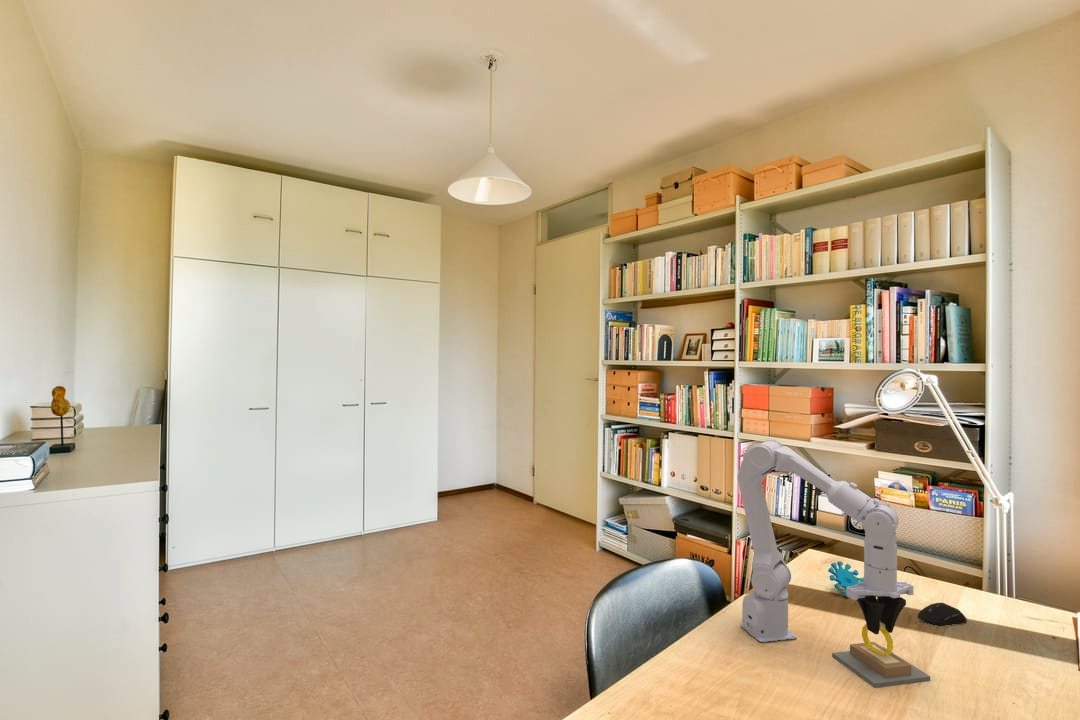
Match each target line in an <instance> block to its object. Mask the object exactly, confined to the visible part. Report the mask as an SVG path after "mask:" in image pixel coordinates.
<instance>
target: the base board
mask: <svg viewBox="0 0 1080 720" xmlns="http://www.w3.org/2000/svg"><path fill="white" fill-rule="evenodd" d="M870 642H871V644H872V646H873V647H875V648H877V649H878V650H880V651H882V652H884V653H885V651H886V649H887V647H886V648H885V646H881V645H880V644H878V643H877V642H875V641H870ZM831 657H832V658H833V659H835V660H836V661H837V662H838V663H840V664H842V665H843V666H844V667H846V668H847V669H848V670H850V671H851V672H852V673H854V674H855V675H856V676H857V677H859V678H861V679H862V680H863V681H865V682H866V683H868V684H869V685H870V686H872V687H873V688H883V687H889V686H890V687H891V686H898V685H899V686H900V685H906V684H914V683H922V682H929V681H931V675H929V674H927V673H925V672H924V671H923V670H921V669H919V668H918V667H916V665H913V664H912V663H910V662H908V661H906V660H905V659H903V658H902V657H900V656H899V655H897V654H895V653H894V652H893V651H892V652H891V653H890V654H887V655H884V656H880V655H879V654H877V653H875V652H874V651H872V650H870V649H868V648H867V646H866V645H865V643H864V642H859V643H850V644H849V650H846V651H838V652H837V651H836V652H831Z"/></svg>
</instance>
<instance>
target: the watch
mask: <svg viewBox="0 0 1080 720" xmlns="http://www.w3.org/2000/svg"><path fill="white" fill-rule="evenodd" d="M868 631H869V630H868V628H867V624H866V623H865V624H864V625H863V626H862V629H861V637H862V641H863V643H865V645H866V646H867V648H868V649H870V650H872V651H874V652H875V653H877V654H879V655H880V656H884V655H887V654H890V653H891V652H892V653H893V650H894V641H893V638H892V635H891V633H889V632H888V631H887V630H886V629H885V624H883V623H882V622H880V630H879V632H881V634H883V636H884V638H885V641H886V651H885V653H884V652H882V651H880V650H878V649H877V648H875V647H873V646H872V644H871V642H872V641H870V638H869V635H868Z"/></svg>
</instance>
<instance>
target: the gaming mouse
mask: <svg viewBox="0 0 1080 720" xmlns="http://www.w3.org/2000/svg"><path fill="white" fill-rule="evenodd" d="M919 618H920V619H921V620H920V619H919ZM917 619H919V620H918V621H919V622H923V623H925V622H926V624H928V623H929V625H931V624H932V626H934V625H937V626H936V627H946V626H945V625H950V626H953V625H952V624H959V625H962V624H961V623H964V622H965V623H967V621H968V620H967V617H966V616H965V615H964V614H963V613H962V611H961V610H959V608H956V607H954V606H952V605H949V604H947V603H945V602H936V603H931V604H929V605H927V606H924V607H923V608H922V609H921V610H920V611H919V612H918V613H917ZM918 621H917V622H918ZM917 622H915V624H918V623H917ZM965 623H964V624H965Z"/></svg>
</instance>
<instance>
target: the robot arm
mask: <svg viewBox="0 0 1080 720" xmlns="http://www.w3.org/2000/svg"><path fill="white" fill-rule="evenodd" d="M772 470H774V471H775V472H789V473H792V474H795V475H796V476H798V477H799V478H801V479H802V480H804V481H805V482H807V483H809V484H811V485H812V486H813V487H816V488H817V489H818V490H820V491H822V492H823V493H825V494H826V496H827V501H828V502H829V503H830V504H832V505H833V506H834V507H835V508H837V509H839V510H840V511H841V512H843V513H844V514H846V515H847V516H849V517H850V518H852V519H853V520H854V521H856V522H858V523H860V524H861V526H862V528H863V530H864V535H865V536H864V537H865V538H864V540H863V577H864V582H861V583H859V584H856V585H854V586H850V587H846V596H845V597H848V599H850V600H852V601H857V603H858V605H859V606H860V609H861V611H862V614H863V617H864V620H865V624H867V628H868V631H869V632H871V633H873V634H874V635H879V633H880V622H882V623H883V624H885V629H886V630H887V631H888V632H889V634H891V633H892V634H893V631H894V628H895V625H896V622H897V620H898V617H899V615H900V613H901V612H902V610H903V609H904V608H905V606H906V605H907V599H905V598H903V597H901V595H907V596H913V595H914V589H915V588H914V585H913V584H910V583H909V582H907V581H898V544H897V539H898V538H897V532H896V530H897V527H898V526H899V519H900V518H899V515H898V513H897V512H896V511H895V509H893V508H892V507H891V506H890V505H889V504H887V503H883V502H880V500H879V499H878V498H871V497H870V496H869V495H867V494H866V493H864V492H863V491H861V490H860V489H858V488H857V487H858V484H856V483H854V482H853V481H852V482H850V483H849V482H847V481H846V480H839V481H838V480H837V481H836V480H834V479H833V478H831V477H830V476H828V475H827V474H826V473H824V471H822V470H821V469H819V468H818V467H816V466H814V464H812V463H810V462H809V461H808V460H806V459H805V458H803V457H802V456H801V455H799V454H798V453H797V452H795V451H794V450H793V449H792V448H790V447H788V446H786V445H783V444H782V443H780V441H777V440H775V439H767V440H765V441H762V442H759V443H758V442H757V443H755V444H754V443H753V444H752V445H751V446H749V448H748V449H747V450H746V451H745V452H744V453H743V454H742V462H741V464H740V468H739V471H738V473H737V483H738V487H739V491H740V496H741V501H742V504H743V509H744V513H745V519H746V523H747V527H748V528H747V529H748V531H749V536H750V537H749V538H750V540H751V541H750V542H751V544H752V549H753V557H752V561H751V567H752V575H751V578H750V581H751V587H752V588H753V592H751V593H749V594H746V595H745V596H744V597H743V599H742V614H741V616H742V623H740V627H741V628H743V630H745V631H746V632H747V633H748V634H750V636H752V637H753V638H754V637H755V638H754V639H756V641H758V642H759V643H768V642H769V641H770V642H777V641H778V640H780V641H786V639H789V640H796V639H797V638H798V637H797V635H796V634H794V633H793V632H792V631H790V630H789V592H788V589H787V586H788V585H789V584H790V582H791V580H792V572H791V569H790V568H789V567H788V565H787V564H786V563H785V561H784V556H783V554H782V553H781V551H779V549H778V547H777V542H776V537H775V533H774V530H773V525H772V520H771V516H770V512H769V507H768V502H767V498H766V494H765V491H764V486H763V482H764V480H765V478H767V476H769V475H770V472H771V471H772Z"/></svg>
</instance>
